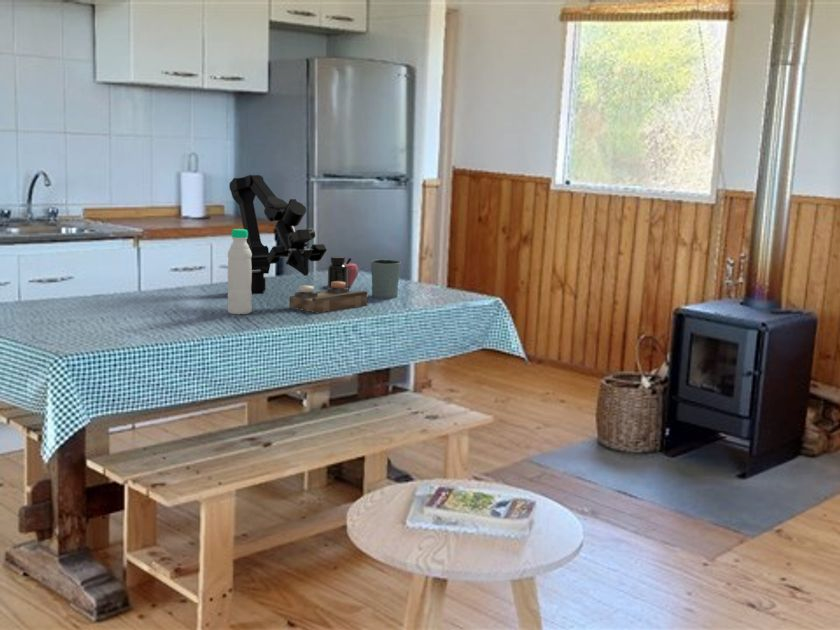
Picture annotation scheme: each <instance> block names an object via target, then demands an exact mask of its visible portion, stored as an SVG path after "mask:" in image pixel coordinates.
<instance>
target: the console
mask: <svg viewBox="0 0 840 630" xmlns="http://www.w3.org/2000/svg"><path fill="white" fill-rule="evenodd" d="M359 306H360V307H365V306H368V291H366V290H358V291H357V290H356V291H350V288H341V289H335V288H334V287H332V288H328V287H327V288H326V291H321V292H320V291H319V292H314V291H313V292H309V293H308V294H305V293H303V292H300V291H295V292H294V295H293V296H292V295H290V296H289V306H288V307H293V308H298V309H303V310H308V311H313V312H322V313H325V312H324V311H328V312H333V311H332V310H335V311H340V310H339V309H341V310H345V308H347V309H352V307H353V308H358V307H359ZM293 308H292V309H293ZM298 309H297V310H298ZM303 310H302V311H303ZM308 311H307V312H308ZM313 312H312V313H313Z"/></svg>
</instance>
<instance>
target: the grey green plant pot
mask: <svg viewBox="0 0 840 630" xmlns="http://www.w3.org/2000/svg"><path fill="white" fill-rule="evenodd" d="M401 265H402V261H400V260H396V259H385V258H384V259H383V258H382V259H381V258H380V259H379V258H377V259H373V260H371V261H370V269H371V272H370V273H371V285H372V286H371V296H372V297H373V298H375V297H376V299H388V300H389V299H395V298H398V296H399V295H398V294H399V281H400V276H401V275H400V271H401Z"/></svg>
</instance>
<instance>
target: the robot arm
mask: <svg viewBox="0 0 840 630" xmlns="http://www.w3.org/2000/svg"><path fill="white" fill-rule="evenodd" d="M229 191H230V193H231V197H232V199H233V200H234V201H235V202H236V203H237V205H238V207H239V213H240V217H241V222H242V229H245V230H247V231H248V237H247V239H246V242H247V244H248V246H249V248H250V250H251V253H252V257H251V264H252V282H251V292H252V293H253V294H256V293H257V294H264V292H265V291H266V289H267V288H266V287H267V283H266V281H267V279H266V276H265V274H266V275H267V274H269V273H270V269H271V264H272V265H273V264H278V263H279V261H280V259H281V258H282V259H283V258H286V262H285V264H286V265H288V266H290V267H292V268H293V269H294V270H296V271H298V272H299V273H300V274H301V275H303V276H304V277H308V275H309V262H320V261H321V260H322V258H323V256H324V255H325V254H326V252H327V250H328V249H327V247H326V245H325V244H323V243H315V244H314V243H313V244H312V245H311V247H309V248H305V247H307V246H308V242H309V241H312V240H313V239H314V238H316V232H315V230H314V228H313V227H308V228H305V229H297V228H296V227H297V226H299V225H300V223H301V221H302V220H303V218H304V216H305V214H306V212H307V208H306V205H304V204H303V203H302V202H299V201H298V200H297V199H296V198H290V199H289V201H288V202H286V201H285V200H283V199H281V198H279V197H277V196H276V194H275V193H274V192H273V191H272V190H271V188H270V187H269V186H268V184H267V183H266V182H265V181H264V177H263V175H260V174H248V175H246V176H243V177H233V179H232V180H231V181H230V182H229ZM256 197H257V199H258V200H259V202H260V203H261V204H262V205H263V207H264V211H263V213H264V215H265V217H266V219H267V220H268V221H269V222H276V224H275V226H274V229H273V234H278V237H279V239H280V241H281V242H280V245H273V246H272V248H271V249H269V247H268V245H264V244H263V243H262V240H261V235H260V230H259V223H258V219H257V214H256V210H255V209H256V208H255V204H254V200H255V199H256ZM279 258H280V259H279Z"/></svg>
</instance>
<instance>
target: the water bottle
mask: <svg viewBox="0 0 840 630" xmlns="http://www.w3.org/2000/svg"><path fill="white" fill-rule="evenodd" d="M247 237H248V231H247V230H245V229H243V228H234V229H232V230H231V238H232V243H231V244H230V248H229V249H228V251H227V258H228V259H227V260H228V261H227V287H228V289H227V300H228V301H227V312H228V313H229V314H231V315H236V314H237V315H239V316H241V315H242V314H243V315H248V314H251V313H252V310H253V309H252V307H253V305H252V296H253V295H252V292H251V282H252V264H251V257H252V253H251V250H250V248H249V246H248V244H247V242H246V239H247ZM240 314H241V315H240ZM237 315H236V316H237Z"/></svg>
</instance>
